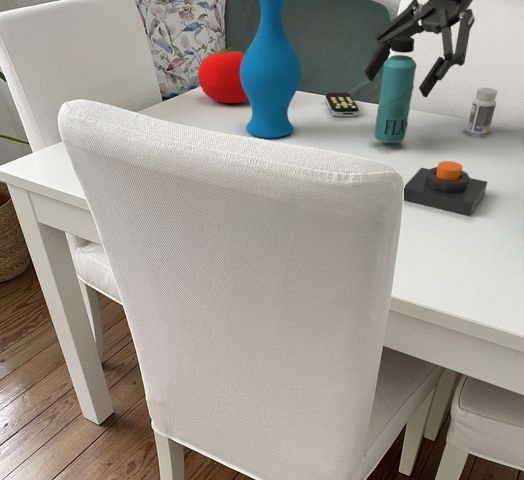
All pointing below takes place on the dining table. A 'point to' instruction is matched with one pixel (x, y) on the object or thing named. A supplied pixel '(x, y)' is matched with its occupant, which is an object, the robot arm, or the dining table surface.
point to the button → (449, 170)
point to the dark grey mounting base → (445, 191)
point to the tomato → (222, 76)
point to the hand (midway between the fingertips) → (394, 84)
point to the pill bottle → (482, 111)
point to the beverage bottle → (396, 93)
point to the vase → (270, 74)
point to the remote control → (341, 104)
